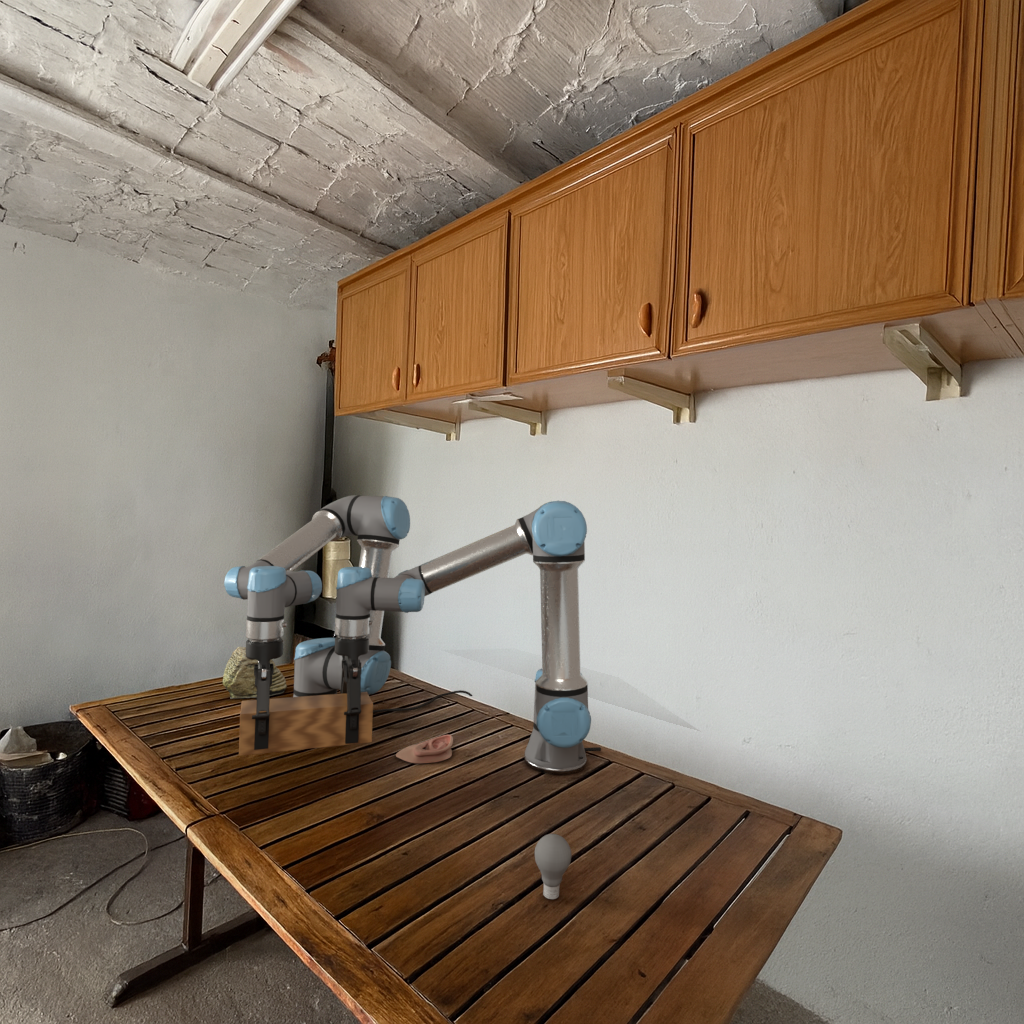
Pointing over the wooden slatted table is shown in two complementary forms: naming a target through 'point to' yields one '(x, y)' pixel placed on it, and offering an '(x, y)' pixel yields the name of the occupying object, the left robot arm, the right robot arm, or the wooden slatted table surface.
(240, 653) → the fossil
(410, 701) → the wooden slatted table surface
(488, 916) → the wooden slatted table surface
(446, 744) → the anatomical model
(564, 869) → the light bulb
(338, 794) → the wooden slatted table surface
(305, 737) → the box
